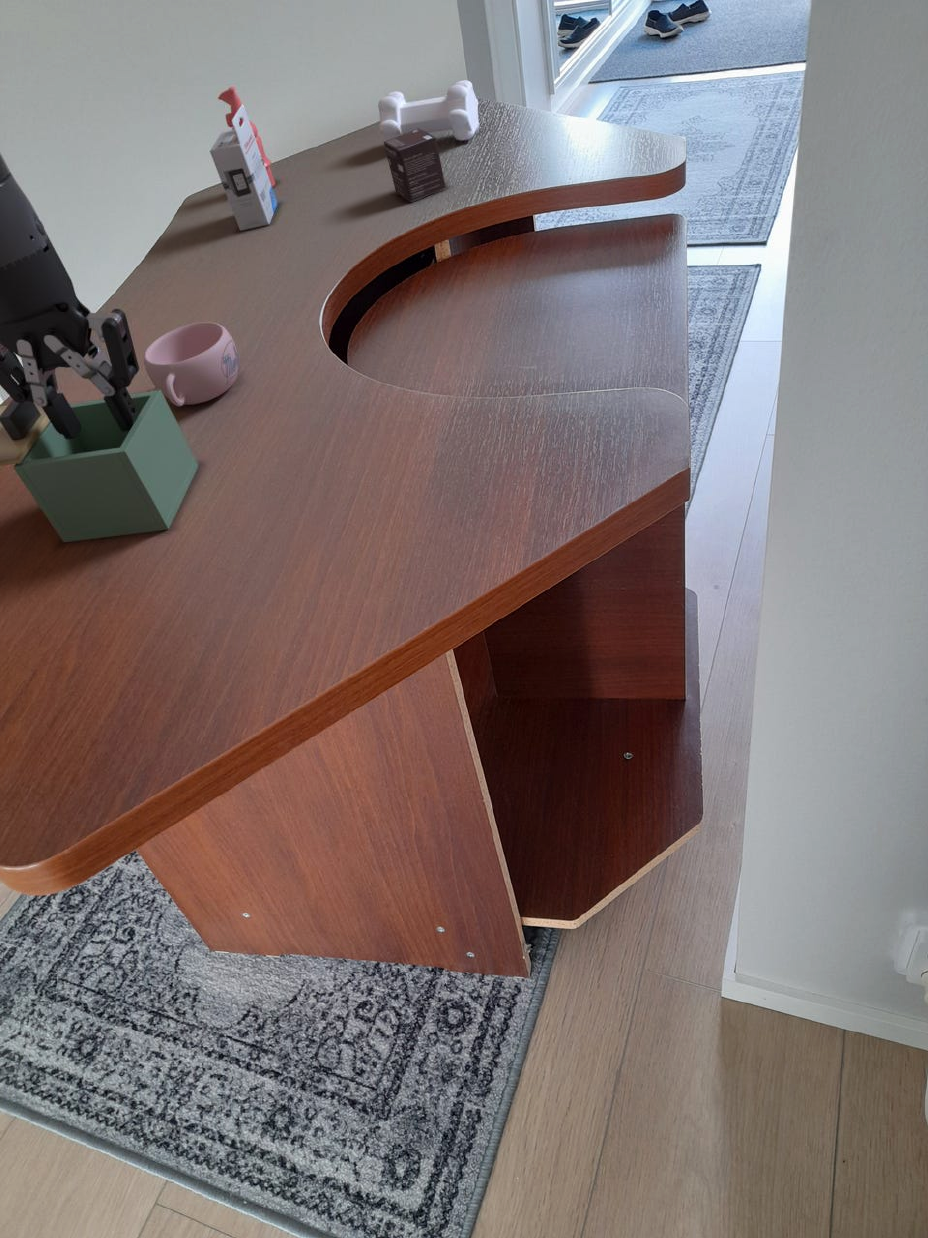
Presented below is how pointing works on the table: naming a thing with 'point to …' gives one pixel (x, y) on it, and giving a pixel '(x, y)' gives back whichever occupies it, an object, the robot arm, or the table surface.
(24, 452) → the slide door
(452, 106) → the dog bone
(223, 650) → the table surface
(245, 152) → the ink box
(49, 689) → the table surface
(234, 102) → the figurine
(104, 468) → the case
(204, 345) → the mug
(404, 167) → the box
